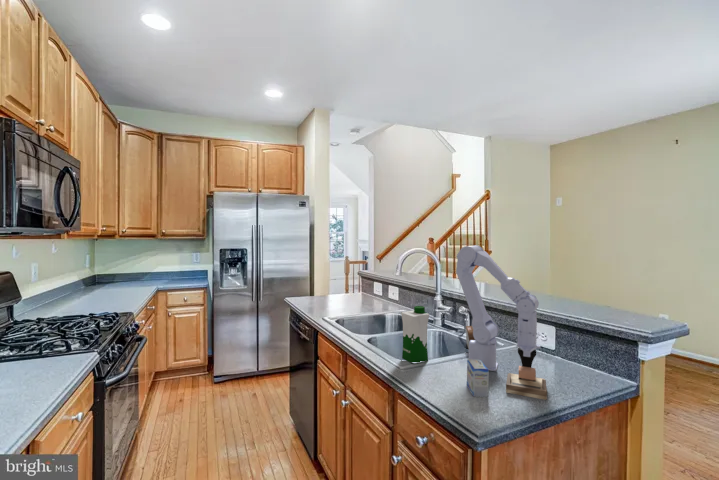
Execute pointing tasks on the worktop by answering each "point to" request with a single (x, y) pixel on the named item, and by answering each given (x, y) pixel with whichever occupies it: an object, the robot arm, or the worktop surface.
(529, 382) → the dock
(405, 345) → the milk carton
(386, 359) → the worktop surface
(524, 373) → the peach toy brick
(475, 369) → the medicine box
